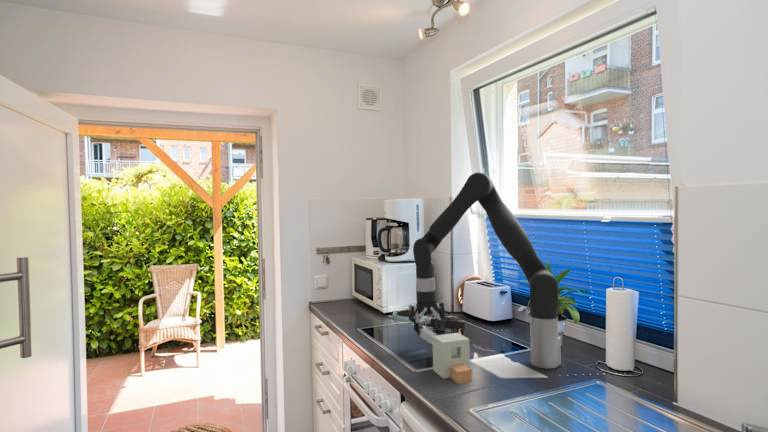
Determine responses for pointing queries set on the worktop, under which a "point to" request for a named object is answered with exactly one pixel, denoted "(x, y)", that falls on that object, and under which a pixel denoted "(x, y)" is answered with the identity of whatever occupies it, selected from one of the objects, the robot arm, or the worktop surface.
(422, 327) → the shaft
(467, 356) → the block
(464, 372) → the block
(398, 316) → the pale green frying pan
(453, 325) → the toy gun
